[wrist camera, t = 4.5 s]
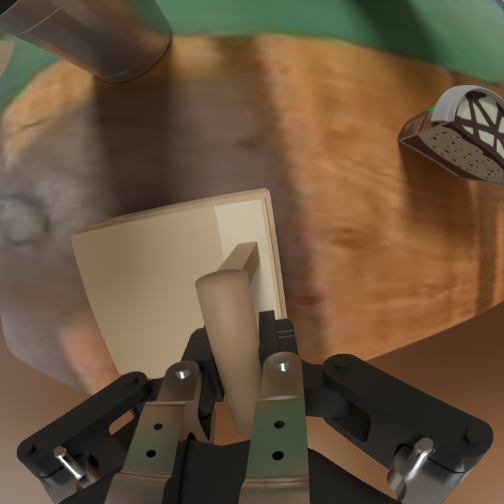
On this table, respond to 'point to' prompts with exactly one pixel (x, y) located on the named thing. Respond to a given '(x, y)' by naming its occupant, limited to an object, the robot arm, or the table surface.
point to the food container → (462, 134)
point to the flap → (185, 292)
